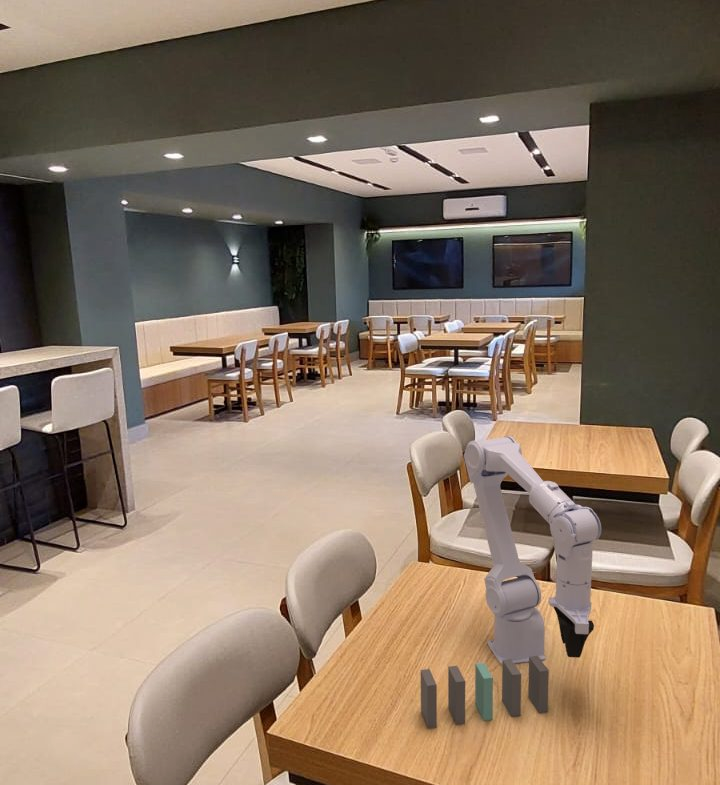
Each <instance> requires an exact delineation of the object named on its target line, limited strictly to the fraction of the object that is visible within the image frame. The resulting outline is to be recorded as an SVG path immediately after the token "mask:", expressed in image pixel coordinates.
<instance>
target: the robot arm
mask: <svg viewBox="0 0 720 785" xmlns="http://www.w3.org/2000/svg"><path fill="white" fill-rule="evenodd" d="M522 452H523V451H522V447H521V444H519V443H518V442H517V440H516V439H515V438H514V437H513V436H510V435H505V436H503V437H496V438H495V437H494V438H489V439H481V440H480V439H479V440H471V441H469V442H468V443H467V445H466V447H465V451H464V454H463V457H464V458H463V459H464V463H465V466H466V471H467V475H468V479H469V482H470V483H472V484H473V488H474V492H475V496H476V501H477V503H478V507H479V512H480V515H481V520H482V524H483V528H484V533H485V535H486V536H485V538H486V540H487V545H488V548H489V553H490V556H491V562H492V564H493V566H492V568H490V571H489V572H488V573H487V574H486V575H485V577H484V583H485V600H486V604H487V607H488V608H489V610H490V612H492V613H493V615H494V629H493V630H494V633H493V636H494V637H493V638H494V639H493V640H488V641H487V642H486V644H487V645H488V647H489V648H490V650H491V651H492V653H493V655H494V656H495V658H496V660H497V661H498V662H499V664H500V665H501V666H502V662H503V660H506V659H511V660H512V661H513V662H514V664H515V665H516V664H524V663H529V657H531V656H538V657H539V658H540V660H541V661H545V660H546V659H547V658H546V656H545V655H546V654H545V633H546V630H545V629H546V627H545V621H544V617H543V614H542V613H541V610H540V609H538V608H537V607H538V606H540V604H541V601H542V590H541V588H540V585H539V583H538V582H537V579H536V578H535V575H534V572H533V569H532V568H531V567H529V566H527V565H526V564H524V563H523V562H521V561H520V558H519V555H518V550H517V546H516V542H515V538H514V535H513V530H512V527H511V524H510V519H509V516H508V511H507V508H506V504H505V500H504V496H503V492H502V489H501V483H502V482H503V480H504V478H506V477H507V476H509V477H510V478H512V480H514V482H516V483H517V484H518V485H519V486H520V487H522V488H523V489H524V491H526V492H527V493H528V494H529V496H528V501H529V504H530V505H531V507H533V509H535V510H536V511H537V512H538V513H539V515H540V516H541V517H542V518H543V519H544V520H545V521H546V523H548V524H549V530H550V534H551V537H552V539H553V543H554V544H553V549H554V550H555V553H556V574H555V575H556V579H555V596H554V597H548V605H549V606H550V607H552V608H553V609H554V611H555V613H556V617H557V621H558V626H559V633H560V637H561V641H562V644H564V646H565V647H564V648H565V652H566V656H567V657H568V658H581V655H583V654H582V653H583V650H584V647H585V645H586V644H585V643H586V641H587V639H588V637H589V636H590V634H591V633H592V632H593V631H594V628H595V624H594V622H593V620H589V618H590V615H591V610H592V602H591V597H592V595H591V591H592V571H593V570H592V568H593V567H592V566H593V548H594V547H593V546H594V545H593V544H594V542H595V541H597V540H598V539H599V538H600V537H601V534H602V523H601V521H600V518H599V517H598V515H597V513H596V512H595V511H594V510H593V509H592V508H591V507H588V506H582V505H580V504H576V502H574V501H573V500H572V498H570V497H569V496H568V495H567V494H566V493H565V492H564V491H563V490H562V489H561V488H560V487H559V485H558V484H557V483H556V482H554V481H550V480H543V479H542V478H541V477H540V475H539V474H538V473H537V471H535V469H533V467H532V466H531V464H530V463H529V462H528V461H527V460H526V459H525V457H523V453H522ZM515 577H516V578H515Z"/></svg>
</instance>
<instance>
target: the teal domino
mask: <svg viewBox="0 0 720 785" xmlns="http://www.w3.org/2000/svg"><path fill="white" fill-rule="evenodd" d="M474 666H475V667H474V668H475V669H474V670H475V671H474V672H475V673H474V674H475V675H474V677H475V678H474V681H475V682H474V683H475V684H474V686H475V688H474V689H475V690H474V691H475V692H474V693H475V694H474V697H475V699H474V701H475V702H474V705H475V707H476V709H477V710H478V713H479V715H480V717H481V719H482V720H483V721H484V722H486V721H492V720H493V716H494V714H493V713H494V712H493V711H494V710H493V707H494V703H493V702H494V700H493V697H494V695H493V694H494V693H493V692H494V678H493V675H492V673H491V672H490V670H489V668H488V666H487V665H486V663H485V662H483V661H482V662H475V664H474Z"/></svg>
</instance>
